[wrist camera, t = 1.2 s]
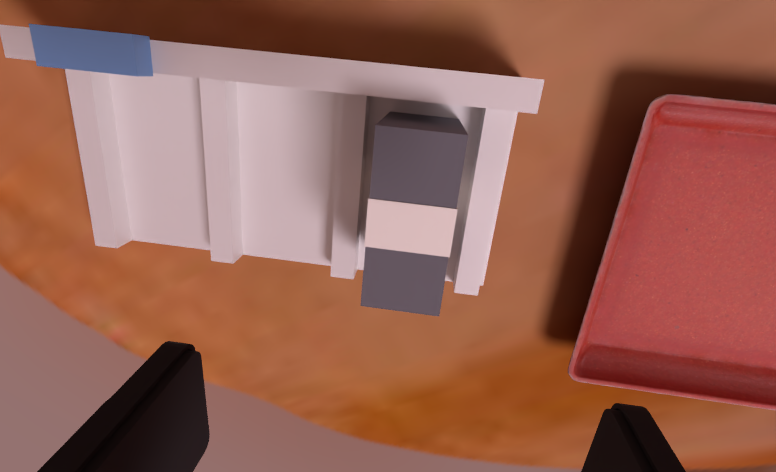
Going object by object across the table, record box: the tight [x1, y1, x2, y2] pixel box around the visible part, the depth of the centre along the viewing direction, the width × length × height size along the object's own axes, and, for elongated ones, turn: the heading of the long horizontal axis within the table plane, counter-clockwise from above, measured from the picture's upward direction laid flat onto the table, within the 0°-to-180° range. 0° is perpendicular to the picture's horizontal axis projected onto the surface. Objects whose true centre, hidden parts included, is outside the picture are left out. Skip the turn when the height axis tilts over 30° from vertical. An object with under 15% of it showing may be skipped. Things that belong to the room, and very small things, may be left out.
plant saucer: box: [568, 94, 776, 410], centre depth 25 cm, size 18×18×3 cm
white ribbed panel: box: [0, 24, 544, 296], centre depth 24 cm, size 13×26×6 cm, turn 85°
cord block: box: [361, 111, 468, 316], centre depth 23 cm, size 9×4×7 cm, turn 174°
